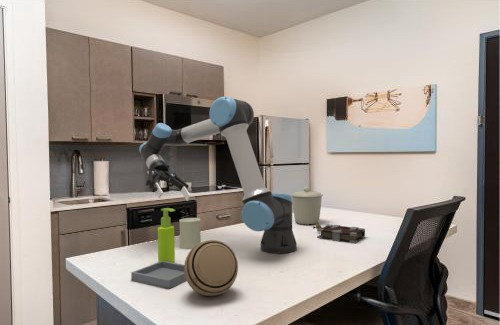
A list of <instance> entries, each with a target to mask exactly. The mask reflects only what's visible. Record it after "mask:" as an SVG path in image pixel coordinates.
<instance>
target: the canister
mask: <svg viewBox="0 0 500 325" xmlns="http://www.w3.org/2000/svg"><path fill="white" fill-rule="evenodd" d="M290 195H291V197H292V211H293V216H294V220H295V222H296V223H297V224H298V225H302V224H305V225H304V226H308V225H309V224H313V225H315V224H316V223H317V224H319V221H320V216H321V210H322V197H323V195H324V194H322V193H321V192H318V191H311V190H310V187H309V186H304V187H303V190H302V191H301V190H300V191H295V192H292V194H290ZM309 226H310V225H309Z"/></svg>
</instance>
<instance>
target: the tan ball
mask: <svg viewBox="0 0 500 325" xmlns="http://www.w3.org/2000/svg"><path fill="white" fill-rule="evenodd" d="M183 265H184V273H185V278H186V282H187V284H188V286H189V287H190V288H191V289H192V290H193V291H194V292H196V293H198V294H199V295H202V296H205V297H214V296H219V295H221V294H224V293H225V292H227V291H228V290H229V289H230V288H231V287H232V286H233V285H234V283H235V281H236V279H237V275H238V271H239V262H238V258H237V256H236V253H235V251H233V248H231V247H230V246H229V245H228V244H227V243H226V242H223V241H220V240H217V239H216V240H215V239H209V240H207V239H206V240H203V241H201V243H199V244H197V245H196V246H195V247H193V248H192V249H190V251H189V252H188V253H187V256H186V258H185V260H184V264H183Z"/></svg>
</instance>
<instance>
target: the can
mask: <svg viewBox="0 0 500 325" xmlns="http://www.w3.org/2000/svg"><path fill="white" fill-rule="evenodd" d="M178 221H179V248H181V249H185V250H189V249H190V250H191V249H192V248H193V247H195V246H196V245H197V244H199V243H201V242H202V240H201V233H202V232H201V218H200V217H185V218H181V219H179V220H178Z"/></svg>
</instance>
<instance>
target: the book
mask: <svg viewBox="0 0 500 325" xmlns="http://www.w3.org/2000/svg"><path fill="white" fill-rule="evenodd" d="M312 229H313V230H314V229H316V231H317V232H320V234H319V235H317V236H316V238H320V239H319V240H329V241H332V242H338V243H339V242H342V243H349V244H353V245H356V244H357V243H358V242H359V241H361V240H364V239H365V238H366V228H361V227H357V226H344V225H339V224H326V225H325V226H323V227H322V225H321V224H319V223H317V224H314V225H313V226H312Z"/></svg>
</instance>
